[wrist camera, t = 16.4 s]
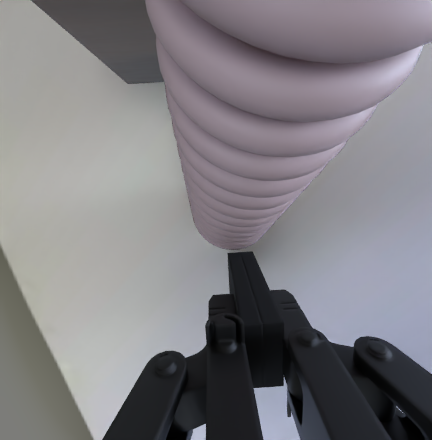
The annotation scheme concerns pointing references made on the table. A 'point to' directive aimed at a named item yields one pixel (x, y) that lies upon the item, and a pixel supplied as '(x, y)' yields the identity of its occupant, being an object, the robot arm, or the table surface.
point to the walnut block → (111, 34)
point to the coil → (274, 95)
